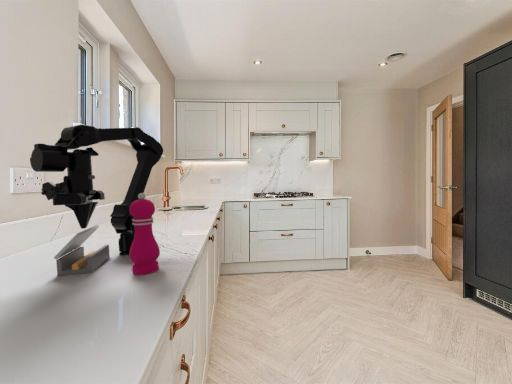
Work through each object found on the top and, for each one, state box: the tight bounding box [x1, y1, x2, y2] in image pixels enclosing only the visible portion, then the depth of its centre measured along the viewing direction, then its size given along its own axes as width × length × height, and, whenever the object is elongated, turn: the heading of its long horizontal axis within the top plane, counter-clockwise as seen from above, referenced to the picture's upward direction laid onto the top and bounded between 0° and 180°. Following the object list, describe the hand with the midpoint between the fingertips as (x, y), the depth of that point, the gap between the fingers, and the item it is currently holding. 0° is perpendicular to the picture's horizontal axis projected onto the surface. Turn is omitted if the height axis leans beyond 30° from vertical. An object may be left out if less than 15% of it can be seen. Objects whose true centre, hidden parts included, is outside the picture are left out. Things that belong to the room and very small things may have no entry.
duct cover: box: [53, 224, 100, 260], centre depth 76 cm, size 8×14×1 cm
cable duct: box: [55, 244, 111, 276], centre depth 77 cm, size 8×14×4 cm, turn 12°
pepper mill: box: [128, 193, 161, 276], centre depth 70 cm, size 7×7×20 cm
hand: (83, 228), depth 76 cm, fingers closed
